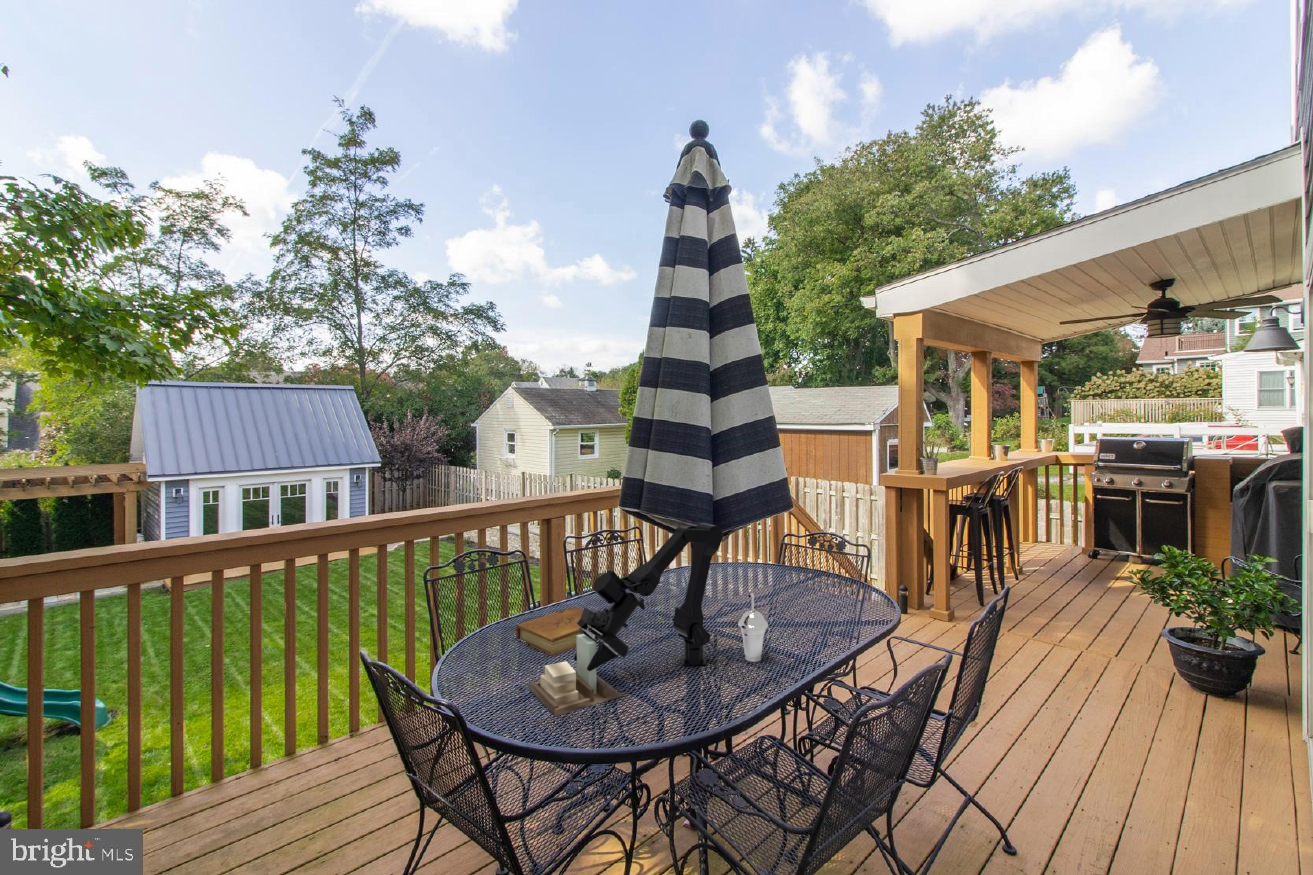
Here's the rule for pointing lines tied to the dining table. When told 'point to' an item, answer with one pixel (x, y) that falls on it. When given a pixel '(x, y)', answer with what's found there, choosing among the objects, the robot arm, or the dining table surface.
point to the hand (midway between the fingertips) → (581, 665)
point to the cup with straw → (752, 632)
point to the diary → (552, 631)
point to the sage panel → (586, 660)
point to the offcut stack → (560, 683)
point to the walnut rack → (584, 696)
